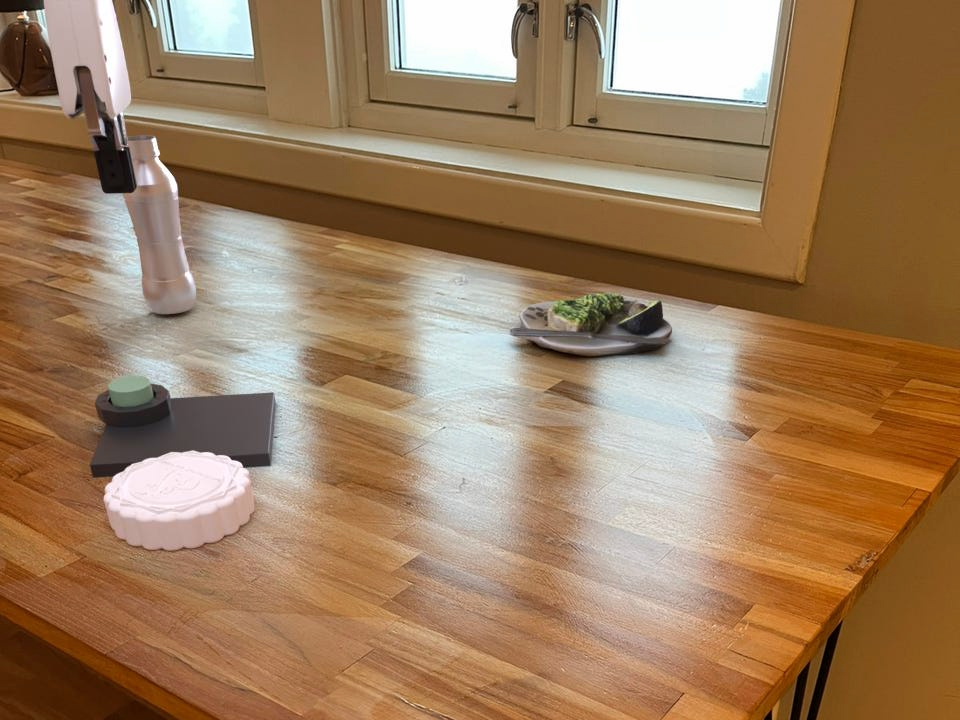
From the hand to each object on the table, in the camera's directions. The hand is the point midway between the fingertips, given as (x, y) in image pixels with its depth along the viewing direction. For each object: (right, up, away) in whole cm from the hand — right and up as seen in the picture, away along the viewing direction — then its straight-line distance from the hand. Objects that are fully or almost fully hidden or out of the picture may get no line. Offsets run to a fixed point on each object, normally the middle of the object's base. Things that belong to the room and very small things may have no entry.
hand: (120, 191), depth 99 cm
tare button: (+3, -23, -4) cm, 23 cm away
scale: (+9, -27, -5) cm, 28 cm away
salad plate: (+51, -10, +17) cm, 55 cm away
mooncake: (+12, -36, -16) cm, 41 cm away
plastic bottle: (-2, -4, +24) cm, 25 cm away
